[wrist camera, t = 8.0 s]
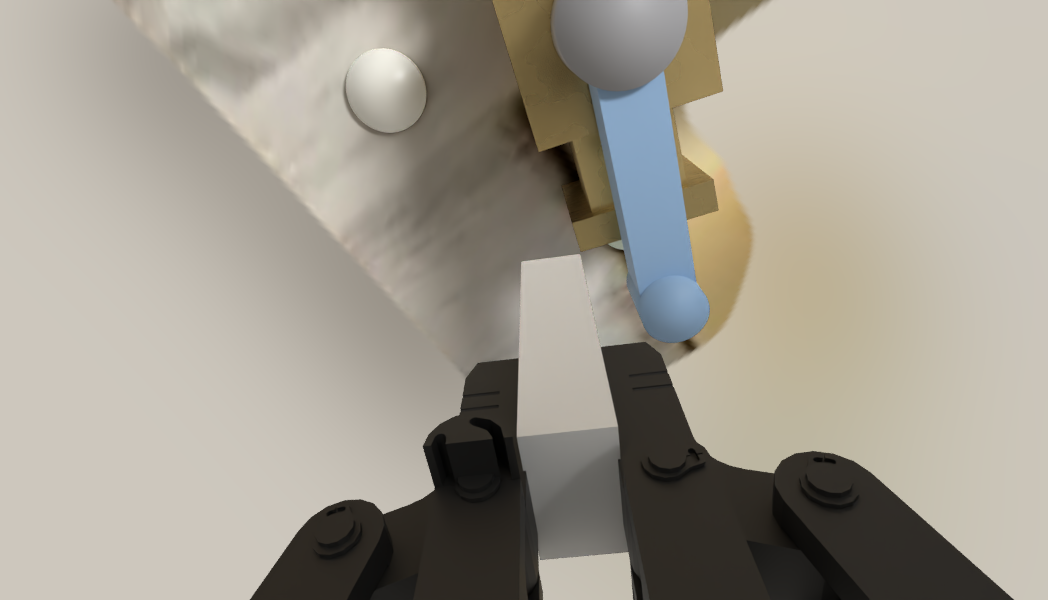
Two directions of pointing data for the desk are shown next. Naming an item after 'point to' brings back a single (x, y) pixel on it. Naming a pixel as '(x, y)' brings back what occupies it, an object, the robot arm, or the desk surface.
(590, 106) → the valve body
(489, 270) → the desk surface
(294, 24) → the desk surface
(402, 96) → the white domed disc
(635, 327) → the desk surface
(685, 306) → the lever
